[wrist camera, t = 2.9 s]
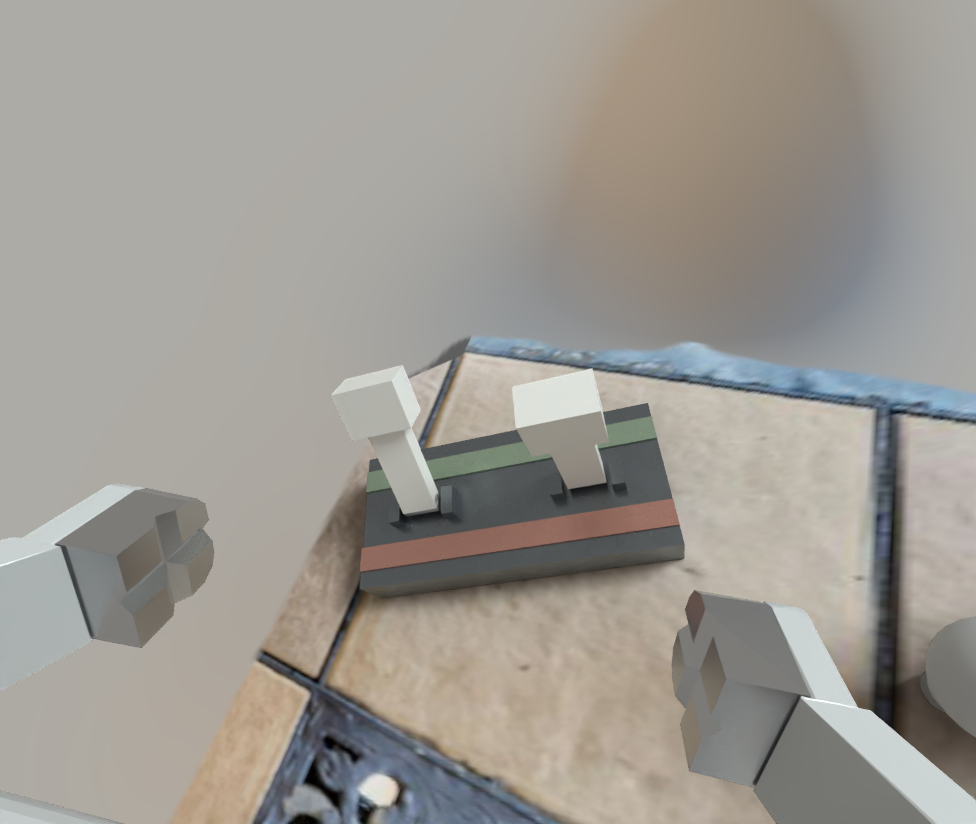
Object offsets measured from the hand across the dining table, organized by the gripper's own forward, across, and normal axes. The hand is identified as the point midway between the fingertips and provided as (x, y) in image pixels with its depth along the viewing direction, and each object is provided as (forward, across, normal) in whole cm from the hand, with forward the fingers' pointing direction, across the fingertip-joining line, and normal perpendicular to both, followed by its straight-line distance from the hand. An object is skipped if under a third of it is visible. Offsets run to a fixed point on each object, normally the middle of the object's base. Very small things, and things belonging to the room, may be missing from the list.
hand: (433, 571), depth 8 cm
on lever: (+29, -8, -20) cm, 36 cm away
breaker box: (+32, 0, -21) cm, 38 cm away
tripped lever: (+29, +5, -14) cm, 33 cm away
